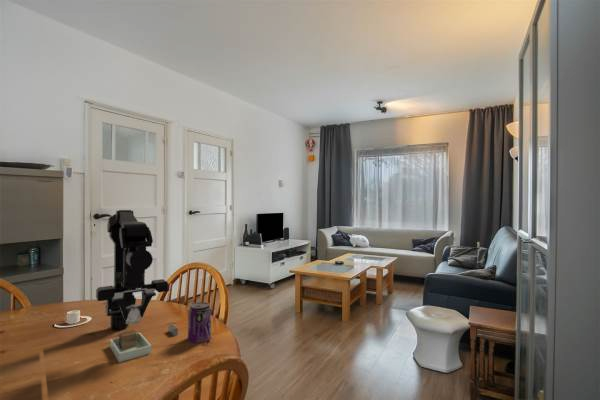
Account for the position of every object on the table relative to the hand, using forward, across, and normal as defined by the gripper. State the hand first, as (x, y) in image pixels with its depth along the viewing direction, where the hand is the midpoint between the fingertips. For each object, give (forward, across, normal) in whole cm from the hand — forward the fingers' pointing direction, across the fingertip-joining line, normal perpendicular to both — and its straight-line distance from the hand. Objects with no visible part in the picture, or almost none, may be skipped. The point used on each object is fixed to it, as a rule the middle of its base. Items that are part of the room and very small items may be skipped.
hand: (133, 318), depth 95 cm
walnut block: (+10, 0, -6) cm, 12 cm away
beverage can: (+11, -19, +2) cm, 23 cm away
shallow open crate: (+11, 0, -2) cm, 11 cm away
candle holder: (+12, +13, -45) cm, 48 cm away
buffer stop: (+11, -14, -8) cm, 19 cm away
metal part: (+1, 0, 0) cm, 1 cm away
